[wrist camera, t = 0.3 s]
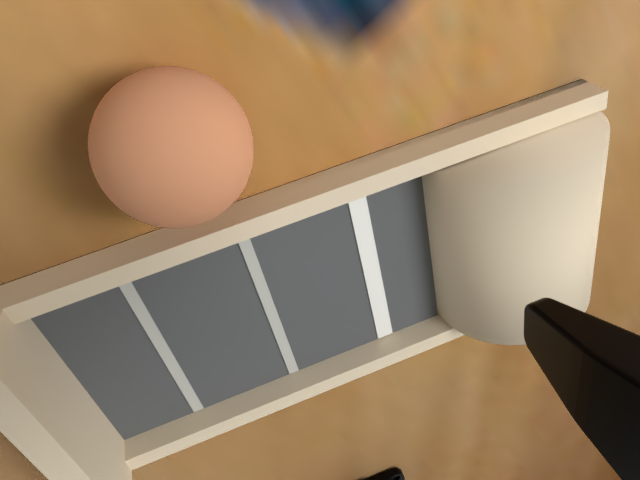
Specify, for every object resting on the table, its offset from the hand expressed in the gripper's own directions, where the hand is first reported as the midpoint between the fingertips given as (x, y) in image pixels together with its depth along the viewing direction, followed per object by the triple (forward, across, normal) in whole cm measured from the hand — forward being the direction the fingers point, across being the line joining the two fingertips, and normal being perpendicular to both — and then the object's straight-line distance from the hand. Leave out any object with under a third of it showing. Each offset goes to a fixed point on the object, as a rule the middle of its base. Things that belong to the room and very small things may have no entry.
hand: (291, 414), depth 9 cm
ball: (+13, +1, -1) cm, 13 cm away
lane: (+17, -3, +9) cm, 19 cm away
